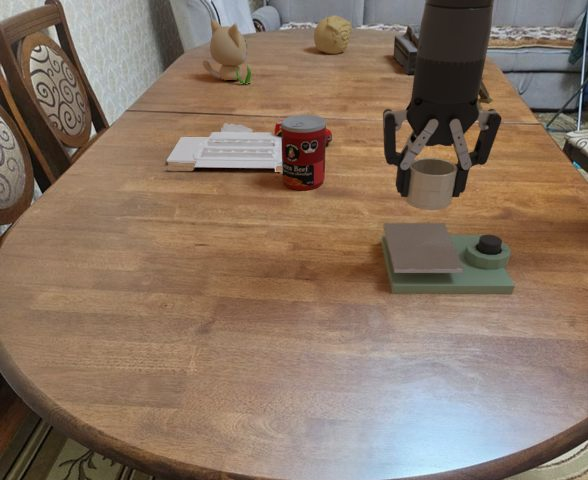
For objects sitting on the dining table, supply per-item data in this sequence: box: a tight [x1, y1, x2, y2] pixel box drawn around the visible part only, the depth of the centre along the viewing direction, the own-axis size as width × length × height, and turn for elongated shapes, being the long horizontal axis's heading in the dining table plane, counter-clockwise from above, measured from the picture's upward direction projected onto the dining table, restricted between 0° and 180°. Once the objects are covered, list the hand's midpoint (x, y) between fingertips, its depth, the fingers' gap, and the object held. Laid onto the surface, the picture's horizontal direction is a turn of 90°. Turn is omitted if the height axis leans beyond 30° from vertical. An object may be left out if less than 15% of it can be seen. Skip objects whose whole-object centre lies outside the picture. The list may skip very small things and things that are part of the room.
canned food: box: [281, 114, 327, 191], centre depth 98 cm, size 8×8×11 cm
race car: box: [274, 119, 333, 144], centre depth 117 cm, size 13×5×4 cm, turn 58°
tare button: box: [477, 234, 503, 255], centre depth 76 cm, size 3×3×2 cm
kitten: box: [202, 18, 252, 84], centre depth 153 cm, size 15×10×15 cm
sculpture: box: [313, 14, 352, 55], centre depth 182 cm, size 11×12×11 cm
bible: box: [393, 24, 420, 76], centre depth 167 cm, size 23×27×10 cm
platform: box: [382, 222, 464, 273], centre depth 76 cm, size 9×13×1 cm
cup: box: [404, 157, 458, 211], centre depth 70 cm, size 6×6×4 cm
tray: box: [166, 122, 282, 173], centre depth 113 cm, size 20×28×4 cm
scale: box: [380, 234, 515, 295], centre depth 77 cm, size 17×14×3 cm
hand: (429, 194), depth 71 cm, fingers closed on cup, 6 cm apart
